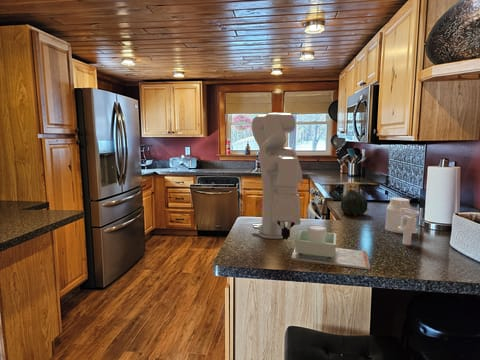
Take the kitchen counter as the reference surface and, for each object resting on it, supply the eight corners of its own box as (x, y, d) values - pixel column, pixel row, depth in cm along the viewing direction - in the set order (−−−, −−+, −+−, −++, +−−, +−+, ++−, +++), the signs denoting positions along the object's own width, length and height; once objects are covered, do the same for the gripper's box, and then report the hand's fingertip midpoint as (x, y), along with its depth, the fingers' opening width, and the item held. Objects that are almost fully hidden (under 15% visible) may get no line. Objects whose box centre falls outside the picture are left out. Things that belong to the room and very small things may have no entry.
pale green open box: (295, 255, 112) (295, 240, 111) (299, 243, 124) (300, 229, 124) (334, 260, 108) (335, 244, 107) (335, 248, 120) (336, 233, 120)
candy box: (354, 204, 208) (355, 182, 206) (358, 206, 204) (359, 183, 202) (342, 205, 206) (343, 182, 205) (345, 206, 202) (347, 183, 200)
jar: (389, 225, 159) (392, 196, 157) (410, 229, 153) (413, 198, 151) (383, 230, 150) (385, 199, 148) (405, 234, 144) (408, 202, 142)
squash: (377, 207, 175) (364, 185, 182) (357, 210, 169) (344, 187, 176) (361, 219, 186) (349, 198, 193) (342, 223, 179) (331, 200, 187)
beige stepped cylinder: (393, 241, 134) (396, 206, 132) (409, 241, 134) (412, 206, 132) (403, 246, 127) (406, 210, 125) (420, 246, 127) (423, 210, 125)
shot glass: (315, 250, 111) (316, 231, 110) (302, 244, 117) (303, 226, 116) (329, 247, 114) (330, 228, 113) (317, 241, 120) (317, 224, 119)
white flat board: (290, 259, 111) (291, 257, 111) (296, 245, 126) (296, 243, 126) (370, 269, 103) (370, 267, 103) (366, 253, 118) (366, 251, 118)
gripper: (265, 190, 115) (264, 239, 117) (306, 193, 111) (304, 243, 113) (269, 188, 122) (268, 234, 124) (308, 190, 118) (306, 237, 120)
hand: (285, 238), depth 119 cm, fingers closed
